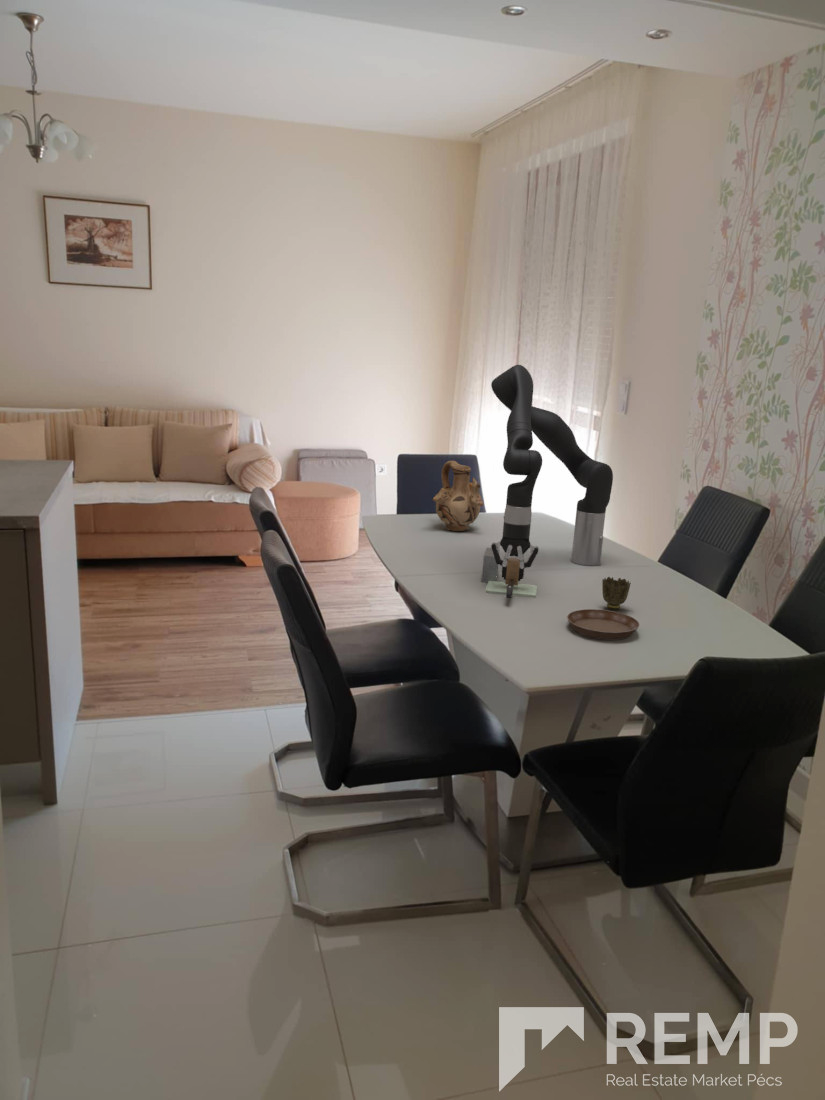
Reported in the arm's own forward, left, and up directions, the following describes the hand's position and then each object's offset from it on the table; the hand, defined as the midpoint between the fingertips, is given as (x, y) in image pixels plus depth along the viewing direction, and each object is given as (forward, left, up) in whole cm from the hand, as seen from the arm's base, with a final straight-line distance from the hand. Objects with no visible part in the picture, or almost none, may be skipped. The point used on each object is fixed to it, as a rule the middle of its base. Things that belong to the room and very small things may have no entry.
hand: (512, 579), depth 238 cm
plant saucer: (-24, +27, -4) cm, 36 cm away
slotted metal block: (+7, -10, -3) cm, 12 cm away
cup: (-28, +8, -3) cm, 29 cm away
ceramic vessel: (+24, -70, -3) cm, 74 cm away
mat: (0, 0, -3) cm, 3 cm away
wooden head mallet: (0, +7, -1) cm, 7 cm away
